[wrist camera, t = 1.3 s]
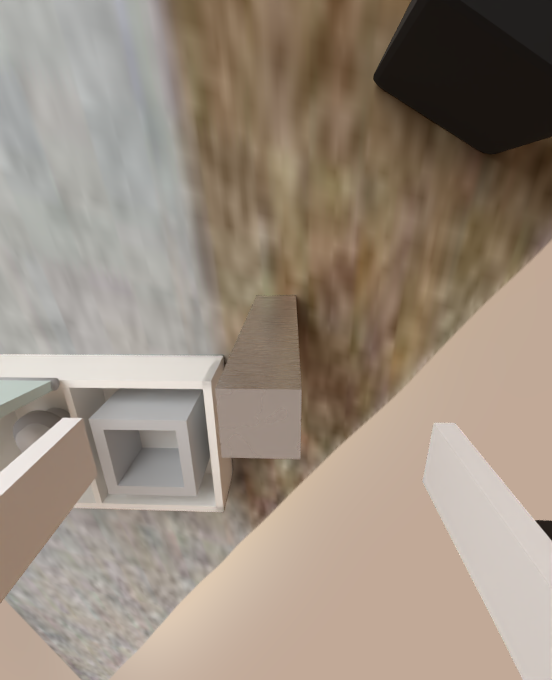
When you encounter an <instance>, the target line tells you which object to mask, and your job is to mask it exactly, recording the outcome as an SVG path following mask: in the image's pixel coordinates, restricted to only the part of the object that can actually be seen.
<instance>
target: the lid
mask: <svg viewBox="0 0 552 680" xmlns="http://www.w3.org/2000/svg"><path fill="white" fill-rule="evenodd" d="M59 384H60V382H59V380H58V378H21V377H0V418H2V417H3V416H5V415H7V414H9V413H11V412H13V411H15V410H17V409H19V408H21V407H22V406H24V405H26V404H28V403H30V402H32V401H34V400H36V399H38V398H40V397H42V396H43V395H45V394H47V393H49V392H51V391H55V390H57V389H58V388H59Z"/></svg>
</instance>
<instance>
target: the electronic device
mask: <svg viewBox="0 0 552 680" xmlns="http://www.w3.org/2000/svg"><path fill="white" fill-rule="evenodd" d="M373 79H374V81H375V83H376V84H377V85H378V86H379V87H381V88H382V89H383V90H385V91H386V92H388V93H390V94H391V95H393V96H394V97H396V98H397V99H399V100H400V101H402V102H404V103H405V104H407V105H408V106H410V107H411V108H413V109H415V110H416V111H418V112H419V113H421V114H422V115H424V116H425V117H427V118H429V119H430V120H432V121H433V122H435V123H436V124H438V125H440V126H441V127H443V128H444V129H446V130H447V131H449V132H450V133H452V134H454V135H455V136H457V137H458V138H460V139H461V140H463V141H465V142H466V143H468V144H469V145H471V146H472V147H474V148H475V149H477V150H479V151H481V152H483V153H487V154H496V153H500V152H503V151H506V150H509V149H513V148H516V147H519V146H522V145H526V144H529V143H532V142H535V141H538V140H542V139H545V138H548V137H551V136H552V0H412V1H411V3H410V4H409V6H408V8H407V10H406V12H405V14H404V16H403V18H402V20H401V22H400V24H399V26H398V28H397V30H396V32H395V34H394V36H393V38H392V40H391V42H390V44H389V46H388V48H387V50H386V52H385V54H384V56H383V58H382V60H381V62H380V64H379V66H378V68H377V70H376V72H375V74H374V77H373Z"/></svg>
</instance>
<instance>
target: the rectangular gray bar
mask: <svg viewBox="0 0 552 680" xmlns="http://www.w3.org/2000/svg"><path fill="white" fill-rule="evenodd" d="M301 391H302V389H301V373H300V356H299V340H298V323H297V307H296V295H256V298H255V300H254V302H253V304H252V307H251V309H250V311H249V313H248V316H247V318H246V320H245V322H244V325H243V327H242V329H241V331H240V334H239V336H238V338H237V341H236V343H235V345H234V347H233V350H232V352H231V354H230V356H229V359H228V361H227V363H226V365H225V368H224V370H223V372H222V374H221V377H220V379H219V381H218V383H217V386H216V388H215V392H216V403H217V413H218V424H219V434H220V445H221V455H222V457H224V458H272V459H300V447H301Z"/></svg>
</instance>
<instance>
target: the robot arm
mask: <svg viewBox="0 0 552 680" xmlns="http://www.w3.org/2000/svg"><path fill="white" fill-rule="evenodd" d="M97 475H98V474H97V470H96V466H95V462H94V459H93V455H92V451H91V448H90V444H89V440H88V436H87V433H86V429H85V425H84V421H83V418H62V419H61V420H60V421H59V422H58V423H56V424H55V425H54V426H53V427H52V428H51V429H50V430H48V431H47V432H46V433H45V434H44V435H43V436H41V437H40V438H39V439H38V440H37V441H36V442H35V443H33V444H32V445H31V446H30V447H29V448H28V449H26V450H25V451H24V452H23V453H22V454H21V455H20V456H18V457H17V458H16V459H15V460H14V461H13V462H11V463H10V464H9V465H8V466H7V467H6V468H5V469H3V470H2V471H1V472H0V603H1V602H2V601H3V599H4V598H5V597H6V595H7V594H8V593H9V591H10V590H11V589H12V588H13V586H14V585H15V584H16V582H17V581H18V580H19V578H20V577H21V576H22V574H23V573H24V572H25V570H26V569H27V568H28V566H29V565H30V564H31V562H32V561H33V560H34V558H35V557H36V556H37V554H38V553H39V552H40V551H41V549H42V548H43V547H44V545H45V544H46V543H47V541H48V540H49V539H50V537H51V536H52V535H53V533H54V532H55V531H56V529H57V528H58V527H59V525H60V524H61V523H62V521H63V520H64V519H65V517H66V516H67V515H68V514H69V512H70V511H71V510H72V508H73V507H74V506H75V504H76V503H77V502H78V500H79V499H80V498H81V496H82V495H83V494H84V492H85V491H86V490H87V488H88V487H89V486H90V484H91V483H92V482H93V481H94V479H95V478H96V477H97ZM422 482H423V484H424V486H425V488H426V490H427V492H428V494H429V496H430V498H431V499H432V502H433V504H434V506H435V508H436V510H437V512H438V513H439V515H440V518H441V519H442V521H443V523H444V525H445V527H446V529H447V531H448V533H449V535H450V537H451V539H452V541H453V543H454V545H455V547H456V549H457V551H458V553H459V554H460V557H461V559H462V561H463V563H464V565H465V567H466V569H467V571H468V573H469V574H470V576H471V579H472V581H473V582H474V584H475V586H476V588H477V590H478V592H479V594H480V596H481V598H482V600H483V602H484V604H485V606H486V608H487V610H488V612H489V614H490V616H491V618H492V620H493V622H494V624H495V626H496V628H497V630H498V632H499V634H500V636H501V638H502V640H503V641H504V643H505V646H506V647H507V649H508V651H509V653H510V655H511V657H512V659H513V661H514V663H515V665H516V667H517V669H518V671H519V673H520V675H521V677H522V679H523V680H552V521H543V520H534V519H533V517H532V516H531V515H530V514H529V513H528V511H527V510H526V509H525V508H524V506H523V505H522V504H521V503H520V502H519V500H518V499H517V498H516V497H515V496H514V494H513V493H512V492H511V491H510V489H509V488H508V487H507V486H506V484H505V483H504V482H503V481H502V480H501V478H500V477H499V476H498V475H497V473H496V472H495V471H494V470H493V469H492V467H491V466H490V465H489V464H488V463H487V461H486V460H485V459H484V458H483V456H482V455H481V454H480V453H479V451H478V450H477V449H476V448H475V447H474V445H473V444H472V443H471V442H470V440H469V439H468V438H467V437H466V436H465V434H464V433H463V432H462V431H461V429H460V428H459V427H458V426H457V425H456V423H433V428H432V433H431V440H430V444H429V449H428V454H427V460H426V465H425V470H424V476H423V481H422Z"/></svg>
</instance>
